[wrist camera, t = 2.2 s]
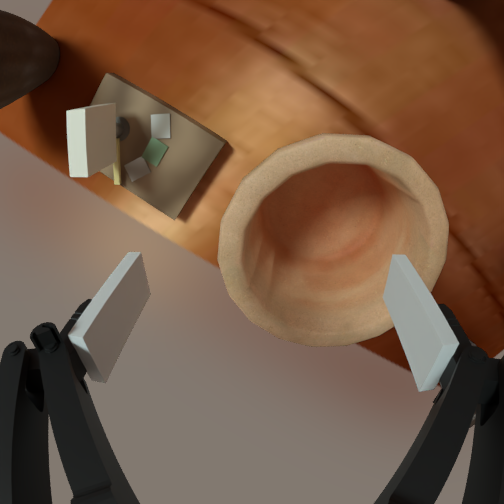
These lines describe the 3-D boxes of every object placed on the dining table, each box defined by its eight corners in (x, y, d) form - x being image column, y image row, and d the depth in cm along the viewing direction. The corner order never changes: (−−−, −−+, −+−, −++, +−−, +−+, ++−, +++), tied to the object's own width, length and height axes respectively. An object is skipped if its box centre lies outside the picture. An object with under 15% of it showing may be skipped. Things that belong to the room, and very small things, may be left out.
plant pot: (9, 110, 34) (-65, 134, 20) (16, 25, 27) (-58, 26, 13) (75, 104, 34) (-8, 124, 20) (86, 6, 27) (8, -12, 13)
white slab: (111, 183, 37) (74, 208, 29) (108, 103, 32) (66, 110, 24) (126, 183, 37) (91, 210, 29) (125, 101, 32) (85, 108, 24)
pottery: (310, 83, 32) (331, 77, 19) (429, 199, 37) (482, 249, 25) (204, 214, 41) (172, 272, 29) (324, 300, 47) (336, 373, 34)
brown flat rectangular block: (78, 148, 37) (69, 152, 35) (113, 73, 32) (105, 72, 30) (178, 214, 41) (174, 220, 39) (227, 140, 36) (224, 143, 34)
